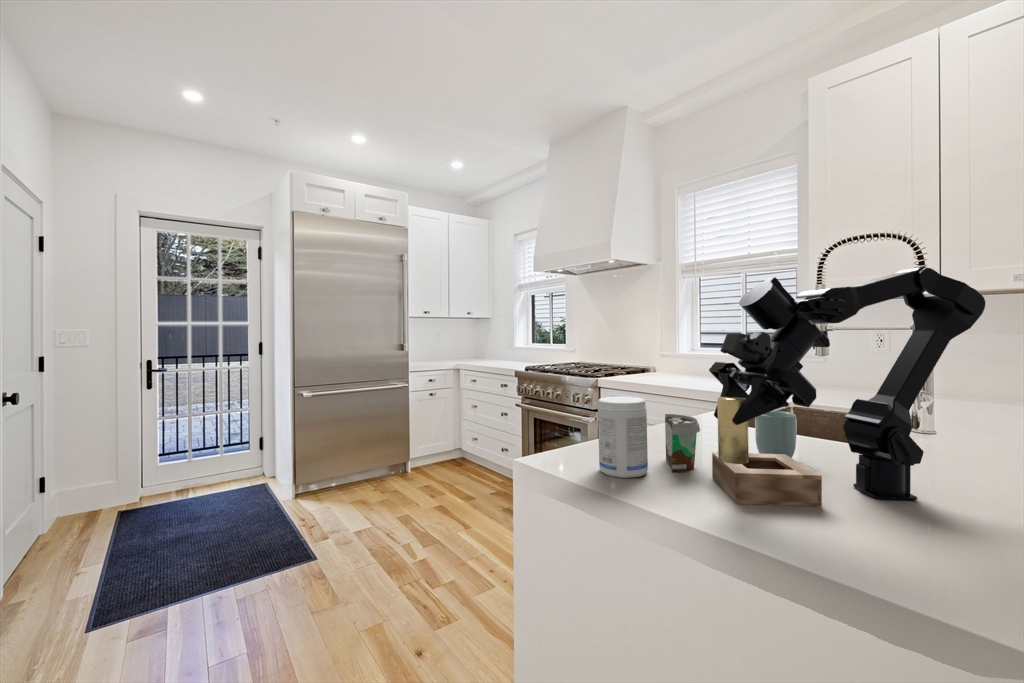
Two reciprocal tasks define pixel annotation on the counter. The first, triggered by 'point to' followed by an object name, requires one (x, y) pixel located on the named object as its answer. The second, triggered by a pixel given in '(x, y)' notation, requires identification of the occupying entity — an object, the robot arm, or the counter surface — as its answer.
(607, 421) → the supplement tub
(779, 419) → the cup
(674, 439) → the food container
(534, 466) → the counter surface
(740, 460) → the brass cylinder
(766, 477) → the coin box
